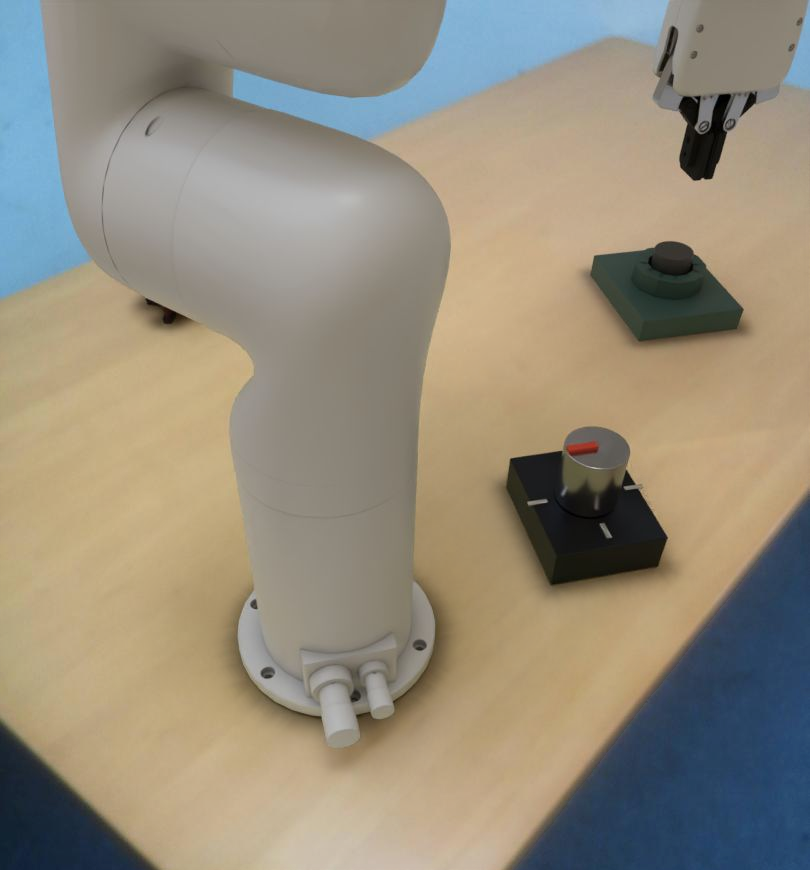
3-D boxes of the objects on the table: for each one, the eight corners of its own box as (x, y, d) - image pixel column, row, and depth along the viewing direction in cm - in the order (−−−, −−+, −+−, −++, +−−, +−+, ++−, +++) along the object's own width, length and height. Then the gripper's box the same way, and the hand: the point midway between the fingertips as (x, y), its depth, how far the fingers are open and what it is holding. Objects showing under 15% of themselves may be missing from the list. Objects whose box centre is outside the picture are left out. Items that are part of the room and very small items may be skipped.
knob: (602, 470, 63) (615, 418, 60) (627, 512, 60) (642, 460, 57) (545, 479, 63) (555, 427, 59) (568, 522, 60) (579, 470, 56)
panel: (662, 566, 61) (673, 535, 59) (546, 586, 60) (552, 555, 57) (607, 472, 68) (615, 440, 65) (501, 488, 66) (506, 456, 64)
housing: (737, 329, 82) (750, 291, 79) (638, 341, 80) (648, 303, 77) (680, 265, 90) (690, 228, 87) (589, 275, 88) (596, 238, 85)
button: (695, 275, 81) (700, 257, 80) (660, 279, 81) (664, 262, 79) (678, 256, 84) (683, 239, 82) (644, 259, 83) (648, 242, 82)
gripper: (825, -96, 66) (751, 148, 80) (643, -88, 64) (598, 162, 77) (884, -71, 61) (795, 184, 75) (689, -61, 59) (633, 201, 72)
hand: (695, 172), depth 76 cm, fingers closed
